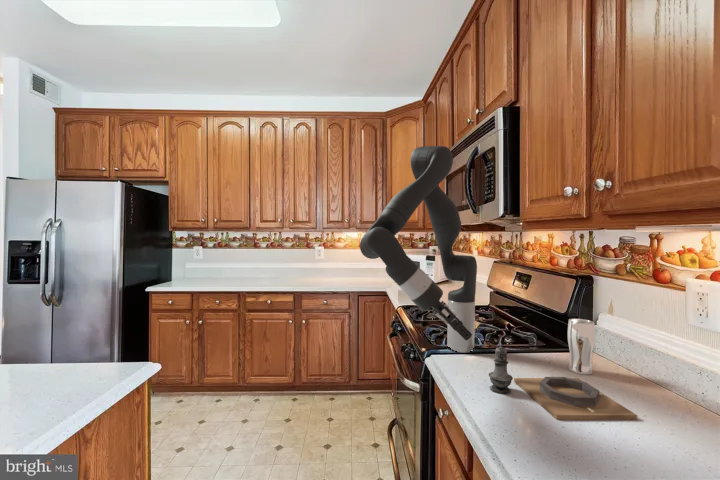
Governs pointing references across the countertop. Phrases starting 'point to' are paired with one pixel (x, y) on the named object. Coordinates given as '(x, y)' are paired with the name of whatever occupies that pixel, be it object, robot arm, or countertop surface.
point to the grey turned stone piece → (500, 373)
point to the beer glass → (581, 345)
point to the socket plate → (574, 411)
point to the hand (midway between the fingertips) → (463, 332)
